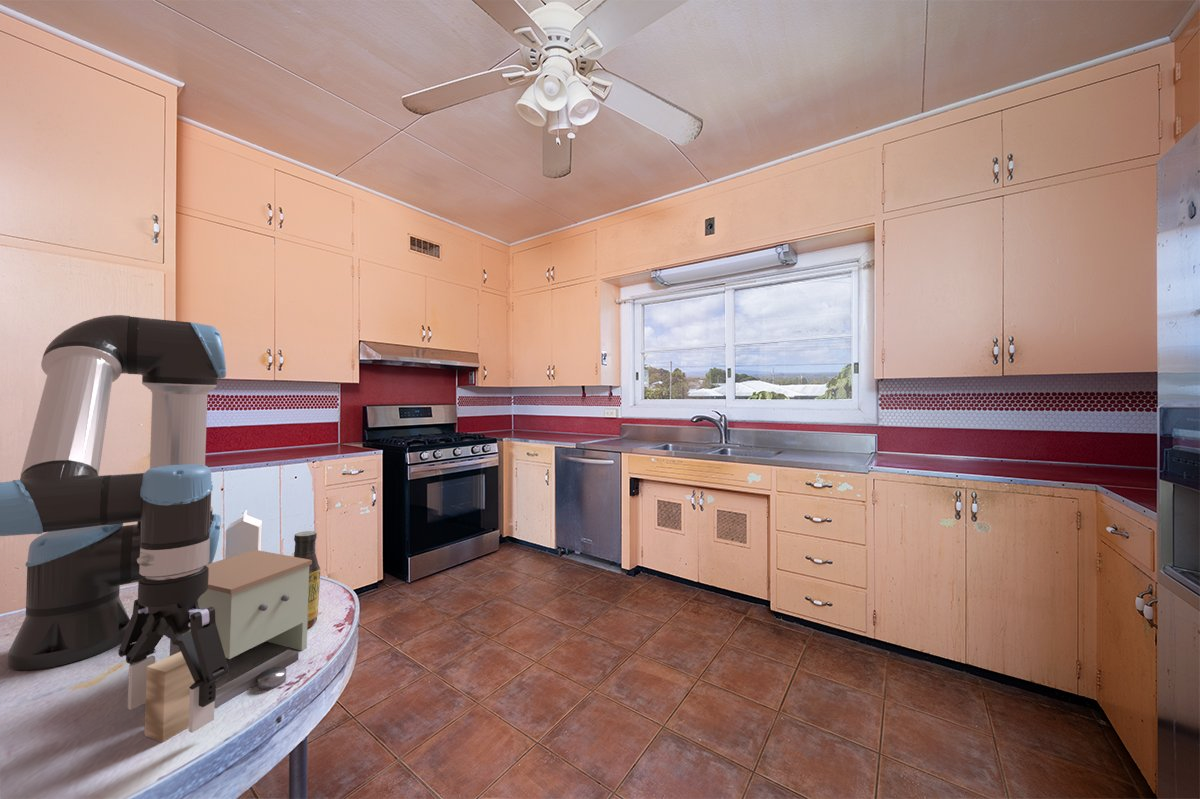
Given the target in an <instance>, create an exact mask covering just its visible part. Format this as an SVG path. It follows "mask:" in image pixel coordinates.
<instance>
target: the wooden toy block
mask: <svg viewBox="0 0 1200 799" xmlns="http://www.w3.org/2000/svg"><path fill="white" fill-rule="evenodd" d="M297 661H299V651H297V650H292V649H287V650H285V651H282V652H281V653H279V654H278V655H276V656H274V657H271V659H268V660H266V661H264V662H263V663H261V664H259V665H258V666H256V667H254V668H252V669H250V670H248V671H246V672H244V673H243V674H241V675H239V676H237V677H235V678H233V679H232V680H230V681H228V682H226V683H224V684H223V685H221V686H219V687H216V698H215V706H214V710H215V709H217V708H218V707H220V706H222V705H224V704H225V703H227V702H229V701H230V700H232V699H235V697H237V696H239V695H241V694H242V693H244V692H246V691H248V690H249V689H251V688H253V687H255V685H257V681H258V675H259V674H260V673H262V672H263V671H265V670H267V669H269V668H273V667H285V668H287V667H289V666H290V665H292V664H293V663H296V662H297ZM194 683H195V682H194V679H193V677H192V675H191V673H190V670H189V668H188V666H187V664H186V662H185V659H184V657H183V655H182V653H181V651H180V652H178V653H176V654H174V655H171V656H170V655H169V656H167V657H165V658H163V659H160V660H158V661H155V663H153V664H151V665H149V666H147V674H146V703H144V704H145V705H144V707H145V708H144V710H145V711H144V736H145V737H148V738H150V739H153V740H156V741H158V742H161V743H165V742H166V741H168V740H169V739H171V738H172V737H174V736H176V735H177V734H179V733H182V732H183V731H185V730H186V729H189V705H190V688H189V687H190V685H192V684H194Z"/></svg>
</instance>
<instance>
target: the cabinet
mask: <svg viewBox="0 0 1200 799" xmlns="http://www.w3.org/2000/svg"><path fill="white" fill-rule="evenodd" d="M311 564H312V560H309V559H303V558H298V557H294V556H291V555H286V554H280V553H274V552H268V551H263V550H261V551H259V550H253V551H250V552H247V553H243V554H240V555H237V556H233V557H230V558H227V559H225V558H224V559H221V560H217V561H214V562H212V563H210V564H207V565H206V566H207V567H208V568H209V577H208V589H207V591H206V592H205V593H203V594H202V595H201V596H200V597H199V599H198V605H199V608H200V609H202V610H204V609H207V608H209V607H214V609H215V621H216V626H217V629H218V633H219V636H220V640H221V643H222V647H223V651H224V654H225V658H226V660H227V659H228V660H231V659H233V658H235V657H236V656H239V655H240V654H242V653H244V652H246V651H249V650H250V649H253V648H254V647H257V646H259V645H260V644H263V643H265V642H268V643H272V644H275V645H280V646H283V647H287V648H290V649H294V650H296V651H297V650H298V651H300V652H301V651H304V650H306V649H307V648H308V647H307V646H308V645H307V644H308V628H307V621H308V590H309V565H311ZM190 631H191V629H190V630H189V631H188V632H190ZM184 634H185V633H184ZM169 641H170V642H169V656H171V655H174V654H176V653H178V652H180V648H179V646H178V645H174V644H172V642H171V640H170V639H169Z"/></svg>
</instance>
